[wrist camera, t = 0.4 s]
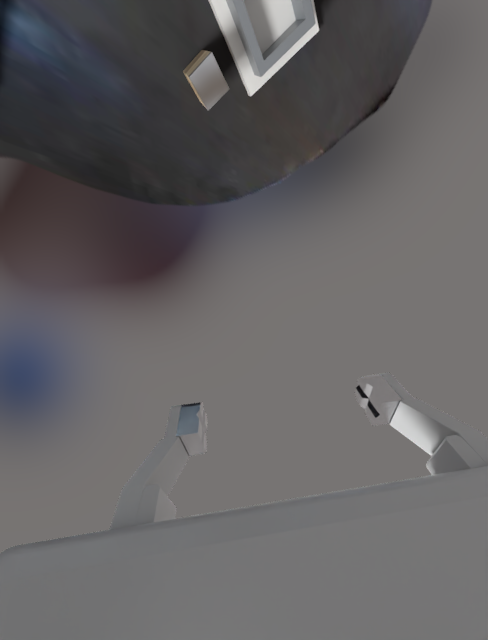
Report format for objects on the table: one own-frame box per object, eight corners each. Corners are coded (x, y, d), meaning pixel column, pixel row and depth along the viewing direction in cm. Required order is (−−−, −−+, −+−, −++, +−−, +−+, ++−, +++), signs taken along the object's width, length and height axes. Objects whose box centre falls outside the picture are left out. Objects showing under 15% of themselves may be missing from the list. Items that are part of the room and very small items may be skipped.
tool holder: (199, -20, 29) (205, -27, 26) (284, -127, 25) (302, -149, 22) (248, 95, 39) (256, 99, 36) (314, 30, 35) (330, 30, 32)
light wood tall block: (182, 71, 35) (189, 77, 29) (201, 49, 34) (211, 52, 28) (199, 100, 38) (208, 110, 33) (217, 81, 37) (229, 89, 31)
